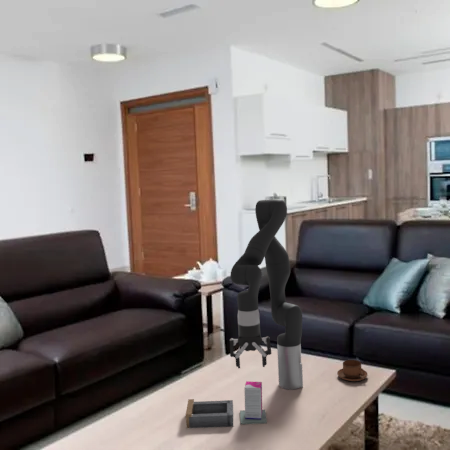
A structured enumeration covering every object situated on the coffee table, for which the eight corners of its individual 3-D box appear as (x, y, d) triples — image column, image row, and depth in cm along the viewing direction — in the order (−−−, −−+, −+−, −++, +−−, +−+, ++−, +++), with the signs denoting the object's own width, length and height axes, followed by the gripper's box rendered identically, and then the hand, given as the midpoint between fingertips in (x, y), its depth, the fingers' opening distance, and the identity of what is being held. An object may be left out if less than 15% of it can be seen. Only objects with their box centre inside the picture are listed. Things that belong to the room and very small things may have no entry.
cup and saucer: (371, 375, 216) (371, 360, 216) (362, 385, 206) (361, 370, 205) (343, 370, 223) (342, 356, 222) (333, 380, 213) (332, 365, 212)
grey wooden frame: (233, 410, 190) (232, 397, 190) (233, 426, 179) (232, 412, 178) (189, 412, 191) (188, 399, 190) (186, 428, 179) (185, 414, 178)
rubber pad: (265, 411, 189) (265, 409, 189) (266, 423, 180) (266, 421, 180) (240, 412, 189) (240, 410, 189) (240, 424, 180) (240, 422, 180)
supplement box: (261, 419, 181) (260, 388, 180) (244, 419, 182) (243, 387, 181) (263, 412, 187) (261, 381, 185) (246, 411, 188) (245, 380, 186)
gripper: (268, 317, 184) (270, 361, 186) (228, 319, 184) (230, 364, 186) (270, 323, 177) (272, 370, 178) (228, 326, 177) (230, 372, 179)
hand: (251, 366), depth 182 cm, fingers open, 8 cm apart
